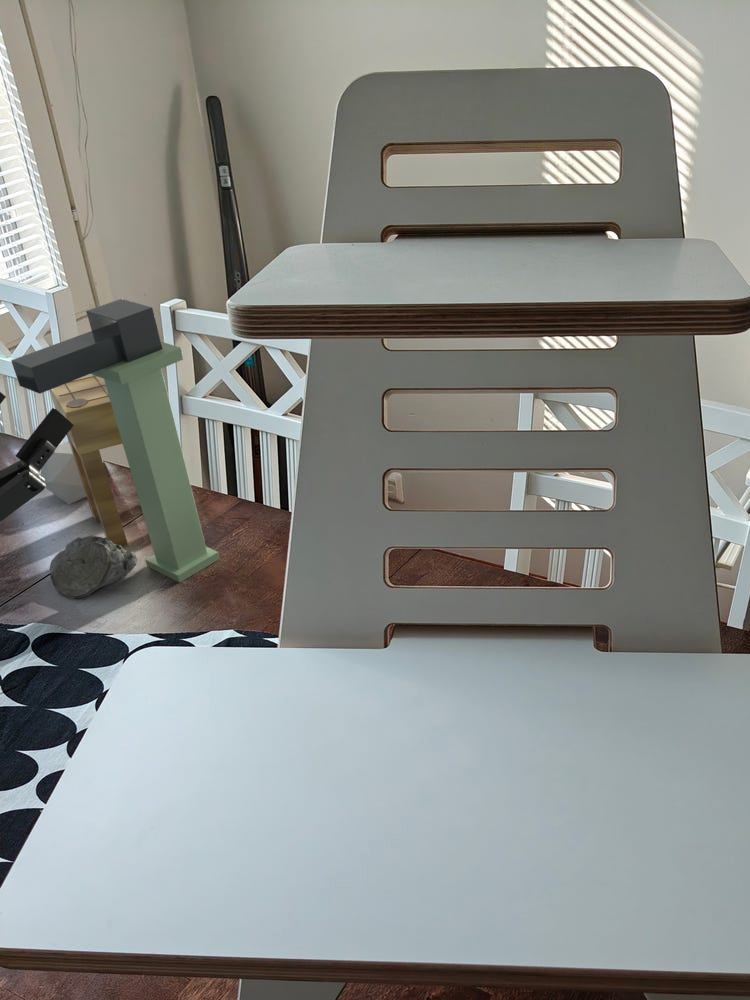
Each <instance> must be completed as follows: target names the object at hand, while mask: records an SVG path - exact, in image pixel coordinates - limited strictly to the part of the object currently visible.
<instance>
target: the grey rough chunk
mask: <svg viewBox="0 0 750 1000" xmlns="http://www.w3.org/2000/svg"><path fill="white" fill-rule="evenodd" d="M137 564H138V556H137V554H136V553H135V552H134V551H129V550H127V549H124V548H123V546H121V545H117V544H113V543H112V541H110V540H108V539H106V537H102V536H96V535H87V536H84V537H79V536H78V537H76V538H75V539H73V540H71V541H70V542H68V543H67V544H66V545H65V548H64V549H63V550H60V551H59V552H58V553H57V554H56V555H55V556H54V557H53V559H51V561H50V564H49V565H50V566H49V575H50V579H51V582H52V584H53V586H54V587H55V589H56V590H57V591H58V592H59V593H60V594H62V595H64V596H65V597H68V598H72V599H82V598H85V597H88V596H89V595H91V594H93V593H94V592H95V591H97V590H98V589H99V588H101V587H102V588H103V587H105V586H109V585H111V584H113V583H116V582H117V581H119V580H121V579H123V577H125V576H126V575H128V574H129V573H130V572H131V571H132V570H133V569H134V568H135V567H136V566H137Z"/></svg>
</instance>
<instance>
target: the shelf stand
mask: <svg viewBox="0 0 750 1000" xmlns="http://www.w3.org/2000/svg"><path fill="white" fill-rule="evenodd" d="M161 344H162V349H161V350H158V351H156V352H153V353H151V354H148V355H146V356H143V357H141V358H138V359H136V360H133V361H131V362H125V361H121V362H119V363H116V364H114V365H111V366H109V367H106V368H104V369H101V370H99V371H96V372H94V373H91V374H92V375H95V376H98V377H101V378H103V379H104V381H105V384H106V388H107V391H108V395H109V398H110V402H111V405H112V409H113V412H114V415H115V419H116V422H117V426H118V429H119V433H120V436H121V440H122V443H123V444H122V446H123V447H122V448H123V449H124V453H125V456H126V460H127V463H128V467H129V470H130V474H131V477H132V481H133V485H134V488H135V492H136V494H137V495H136V496H137V499H138V502H139V505H140V508H141V512H142V516H143V519H144V523H145V526H146V530H147V532H148V536H149V540H150V543H151V547H152V550H153V553H154V554H153V555H151V556H148V557H146V558H145V563H146V567H147V568H149V569H151V570H153V571H155V572H157V573H159V574H161V575H162V576H165V577H167V578H169V579H171V580H173V581H175V582H177V583H179V584H180V583H182V582H184V581H185V580H187V579H189V578H190V577H192V576H194V575H196V574H197V573H199V572H201V571H203V570H204V569H206V568H207V567H209V566H211V565H212V564H214V563H216V562H218V561H219V560H220V554H219V552H218V551H217V550H214V549H213V548H210V547H209V546H207V545H206V542H205V537H204V533H203V530H202V529H203V528H202V526H201V522H200V517H199V513H198V509H197V505H196V502H195V501H196V500H195V498H194V494H193V490H192V485H191V481H190V476H189V474H188V469H187V466H186V462H185V457H184V453H183V450H182V446H181V441H180V438H179V433H178V430H177V429H178V428H177V426H176V421H175V417H174V413H173V408H172V406H171V402H170V397H169V393H168V389H167V386H166V381H165V378H164V374H163V369H165V368H166V367H169V366H171V365H174V364H176V363H178V362H180V361H183V360H184V355H183V352H182V347H180V346H177V345H173V344H170V343H167V342H165V341H161Z"/></svg>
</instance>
